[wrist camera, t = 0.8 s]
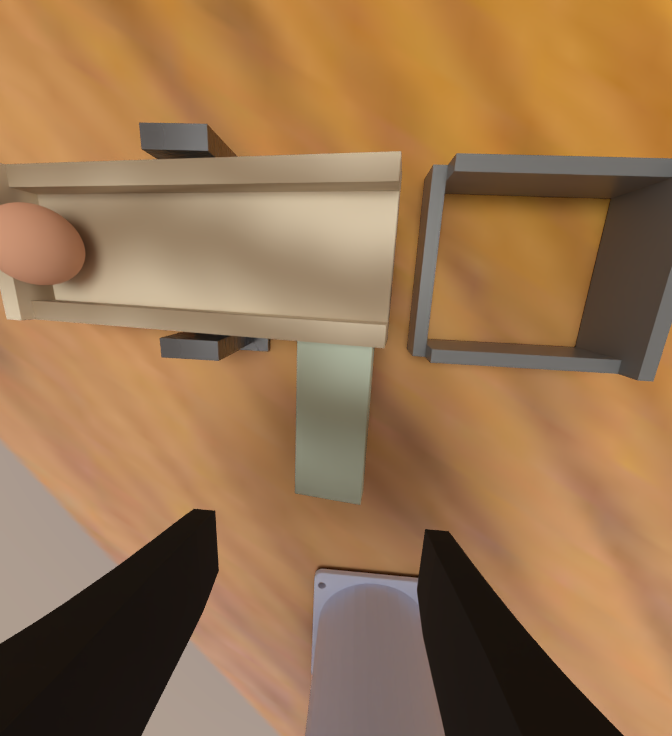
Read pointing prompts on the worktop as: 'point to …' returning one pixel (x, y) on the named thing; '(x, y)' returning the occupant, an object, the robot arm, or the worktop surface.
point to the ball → (38, 245)
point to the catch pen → (611, 272)
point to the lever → (238, 271)
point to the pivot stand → (180, 145)
